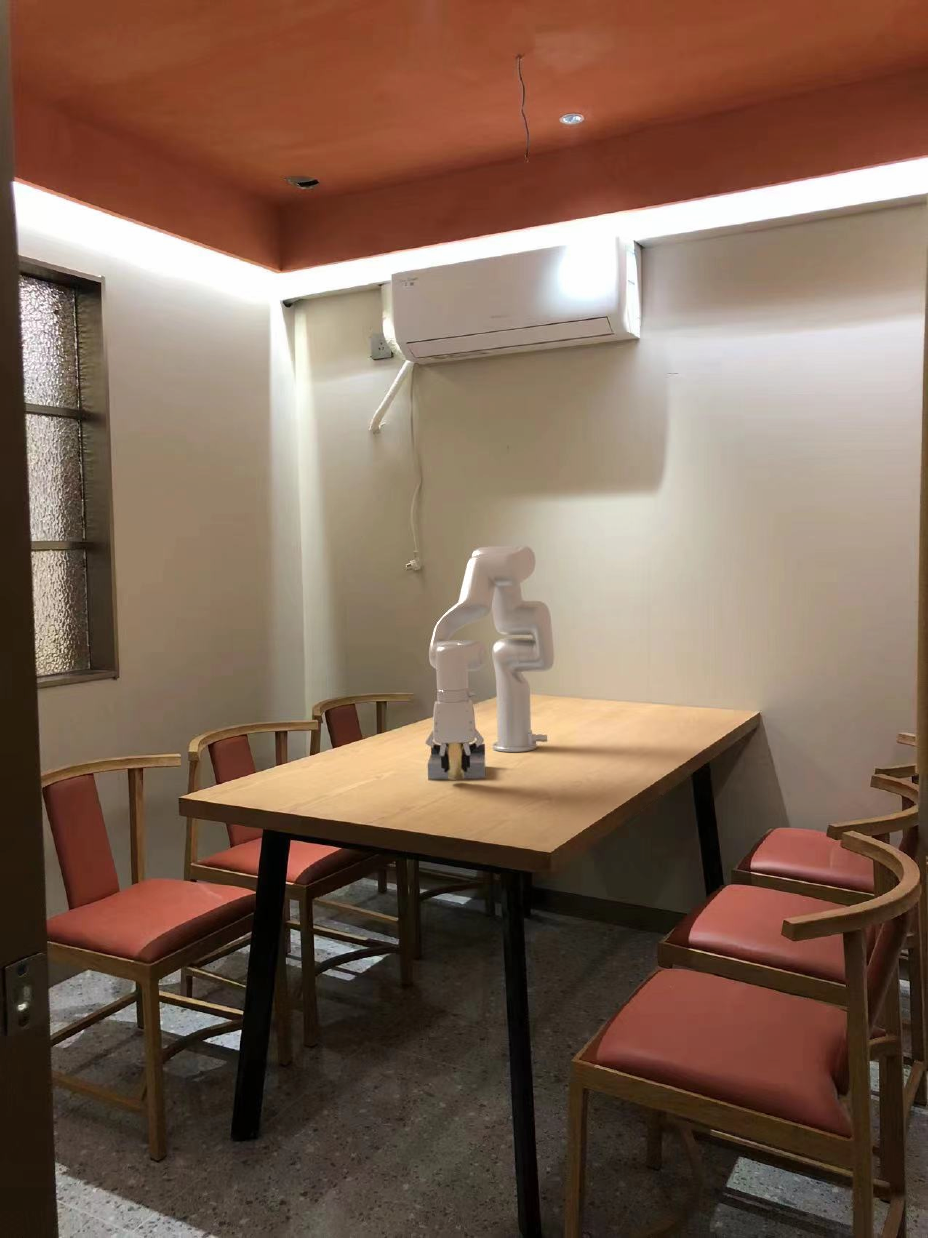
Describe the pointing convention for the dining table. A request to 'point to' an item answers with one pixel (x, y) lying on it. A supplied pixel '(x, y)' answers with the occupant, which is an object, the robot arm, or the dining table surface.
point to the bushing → (455, 761)
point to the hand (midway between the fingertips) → (455, 770)
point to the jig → (472, 773)
